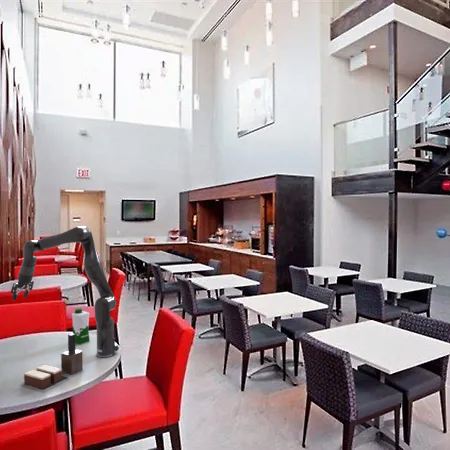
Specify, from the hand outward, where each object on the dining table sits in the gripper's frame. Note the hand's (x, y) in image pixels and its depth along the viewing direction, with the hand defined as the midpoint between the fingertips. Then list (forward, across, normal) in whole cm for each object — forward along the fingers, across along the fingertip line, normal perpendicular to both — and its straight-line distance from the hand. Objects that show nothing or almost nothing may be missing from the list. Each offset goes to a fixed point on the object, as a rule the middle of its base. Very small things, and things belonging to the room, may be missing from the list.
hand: (19, 298), depth 219 cm
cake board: (+16, -35, -52) cm, 65 cm away
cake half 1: (+15, -38, -52) cm, 66 cm away
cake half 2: (+15, -32, -53) cm, 64 cm away
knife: (+13, -22, -58) cm, 63 cm away
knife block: (+14, -22, -58) cm, 64 cm away
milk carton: (+19, +18, -36) cm, 45 cm away
